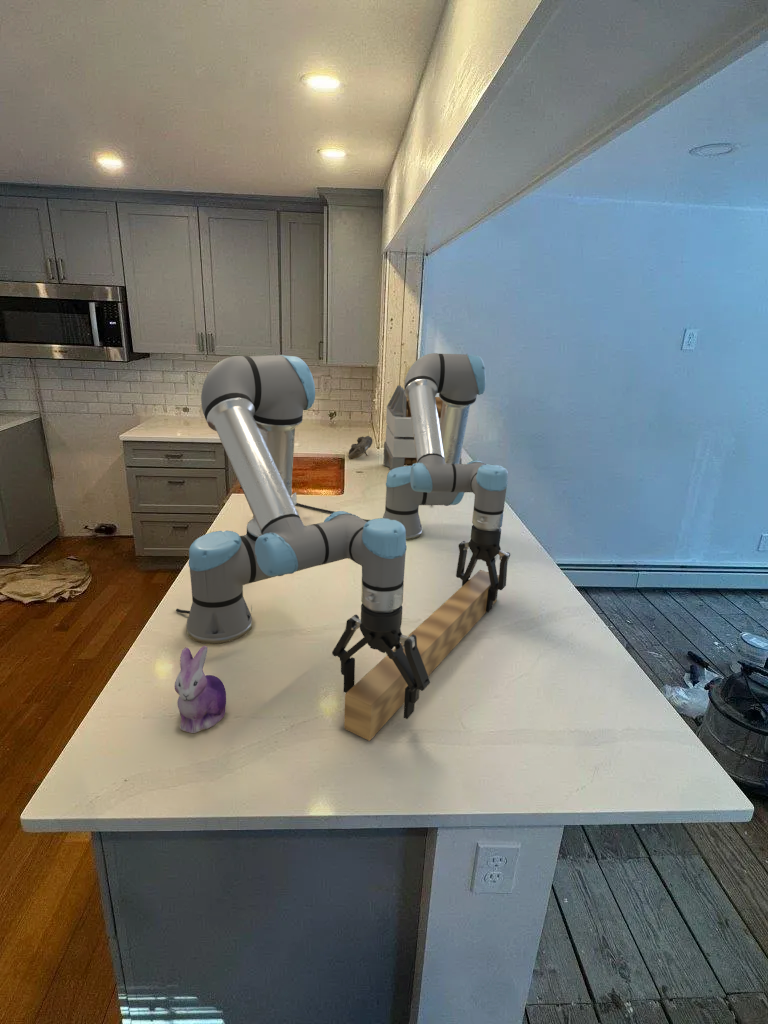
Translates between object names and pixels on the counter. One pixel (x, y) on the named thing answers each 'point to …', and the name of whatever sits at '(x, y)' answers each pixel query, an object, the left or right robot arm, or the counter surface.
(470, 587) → the beam
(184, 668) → the figurine
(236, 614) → the left robot arm
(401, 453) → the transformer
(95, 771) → the counter surface
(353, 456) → the fossil
